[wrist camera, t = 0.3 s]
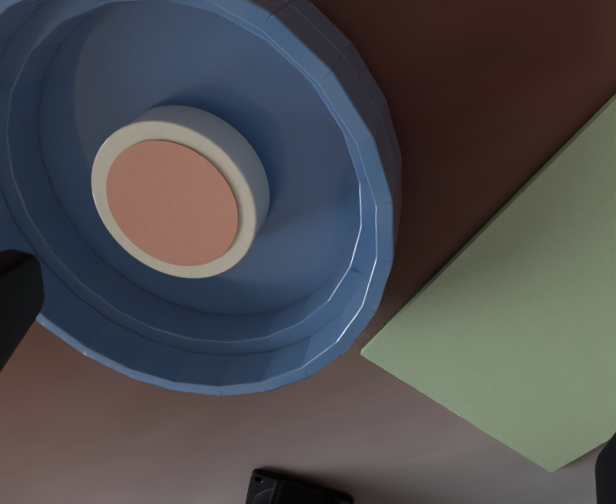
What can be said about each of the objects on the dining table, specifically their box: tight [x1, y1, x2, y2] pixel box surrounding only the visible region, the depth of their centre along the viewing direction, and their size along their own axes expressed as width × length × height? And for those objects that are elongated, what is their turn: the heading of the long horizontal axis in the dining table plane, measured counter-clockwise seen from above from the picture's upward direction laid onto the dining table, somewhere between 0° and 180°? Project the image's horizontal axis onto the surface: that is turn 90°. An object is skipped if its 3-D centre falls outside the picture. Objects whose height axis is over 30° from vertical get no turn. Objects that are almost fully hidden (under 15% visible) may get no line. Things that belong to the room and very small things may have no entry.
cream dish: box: [91, 105, 270, 278], centre depth 22 cm, size 7×7×3 cm
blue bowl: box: [0, 0, 402, 396], centre depth 22 cm, size 17×17×4 cm
